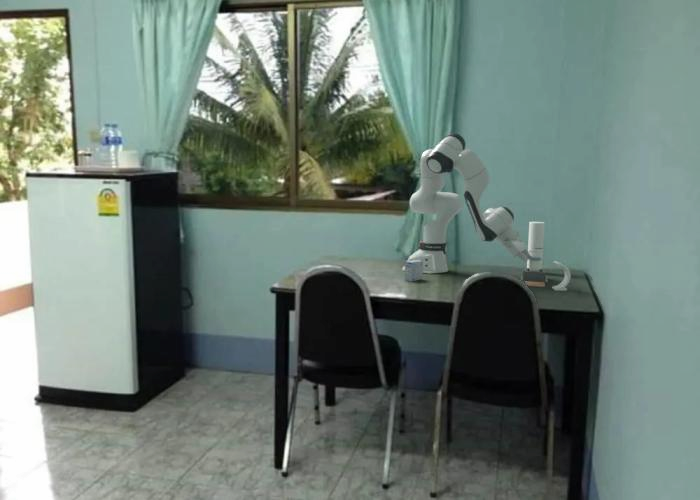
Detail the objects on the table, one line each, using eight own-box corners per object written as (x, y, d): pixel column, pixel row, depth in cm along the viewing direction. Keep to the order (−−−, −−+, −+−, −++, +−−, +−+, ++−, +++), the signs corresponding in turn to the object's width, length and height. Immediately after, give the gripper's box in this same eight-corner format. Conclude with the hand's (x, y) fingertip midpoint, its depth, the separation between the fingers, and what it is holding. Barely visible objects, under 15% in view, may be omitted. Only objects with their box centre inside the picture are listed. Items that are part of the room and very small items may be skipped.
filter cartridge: (528, 279, 284) (529, 257, 283) (528, 277, 289) (529, 256, 288) (540, 280, 283) (541, 258, 281) (539, 278, 288) (541, 256, 286)
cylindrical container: (542, 274, 300) (545, 223, 296) (527, 273, 301) (530, 222, 298) (540, 271, 307) (543, 221, 303) (526, 271, 308) (528, 221, 305)
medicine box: (415, 278, 286) (415, 259, 285) (422, 279, 283) (423, 260, 282) (404, 280, 281) (404, 261, 280) (411, 281, 278) (412, 262, 276)
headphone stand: (551, 288, 267) (553, 260, 266) (565, 288, 267) (567, 261, 266) (555, 290, 263) (557, 262, 261) (569, 290, 263) (571, 262, 261)
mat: (523, 285, 272) (523, 284, 272) (523, 282, 280) (523, 280, 280) (544, 287, 269) (544, 286, 269) (544, 283, 278) (544, 282, 278)
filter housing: (520, 281, 282) (520, 271, 281) (520, 276, 294) (521, 267, 293) (547, 283, 279) (548, 273, 278) (547, 278, 290) (547, 268, 289)
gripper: (508, 235, 278) (530, 258, 275) (517, 231, 296) (537, 252, 293) (498, 244, 280) (519, 267, 277) (507, 239, 298) (527, 261, 296)
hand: (528, 259), depth 285 cm, fingers open, 8 cm apart
